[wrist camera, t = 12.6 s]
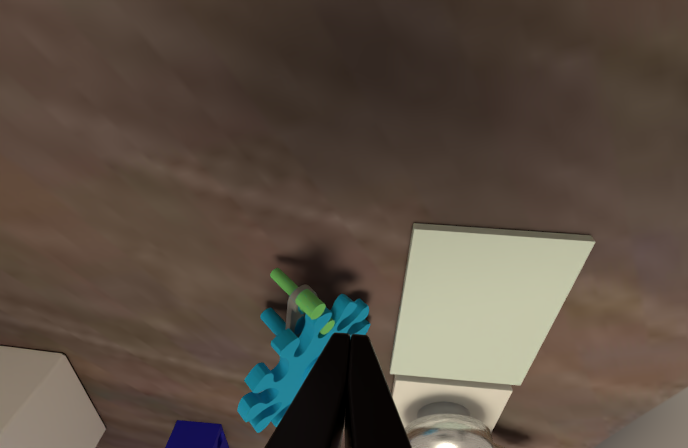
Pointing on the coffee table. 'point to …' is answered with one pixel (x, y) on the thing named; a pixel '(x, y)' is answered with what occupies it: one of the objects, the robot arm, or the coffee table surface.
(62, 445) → the gable box
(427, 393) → the base
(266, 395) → the gear
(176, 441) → the blue saddle bracket
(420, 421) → the silver round handled piece
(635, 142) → the coffee table surface
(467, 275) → the mat
